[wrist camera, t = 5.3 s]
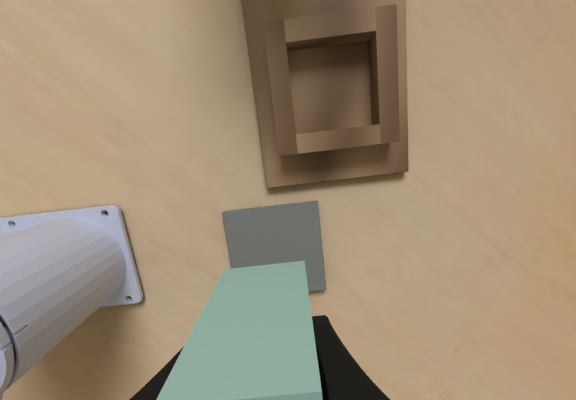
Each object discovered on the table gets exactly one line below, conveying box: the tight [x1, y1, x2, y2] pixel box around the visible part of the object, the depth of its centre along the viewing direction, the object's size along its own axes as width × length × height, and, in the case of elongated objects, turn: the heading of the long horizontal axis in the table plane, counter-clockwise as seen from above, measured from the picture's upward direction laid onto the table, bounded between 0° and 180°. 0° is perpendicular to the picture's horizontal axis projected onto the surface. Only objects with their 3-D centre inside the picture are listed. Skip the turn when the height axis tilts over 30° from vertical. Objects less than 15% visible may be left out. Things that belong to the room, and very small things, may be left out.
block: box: [156, 261, 323, 400], centre depth 10 cm, size 4×4×7 cm
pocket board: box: [241, 0, 408, 188], centre depth 17 cm, size 10×12×2 cm
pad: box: [222, 201, 326, 291], centre depth 20 cm, size 7×7×1 cm
